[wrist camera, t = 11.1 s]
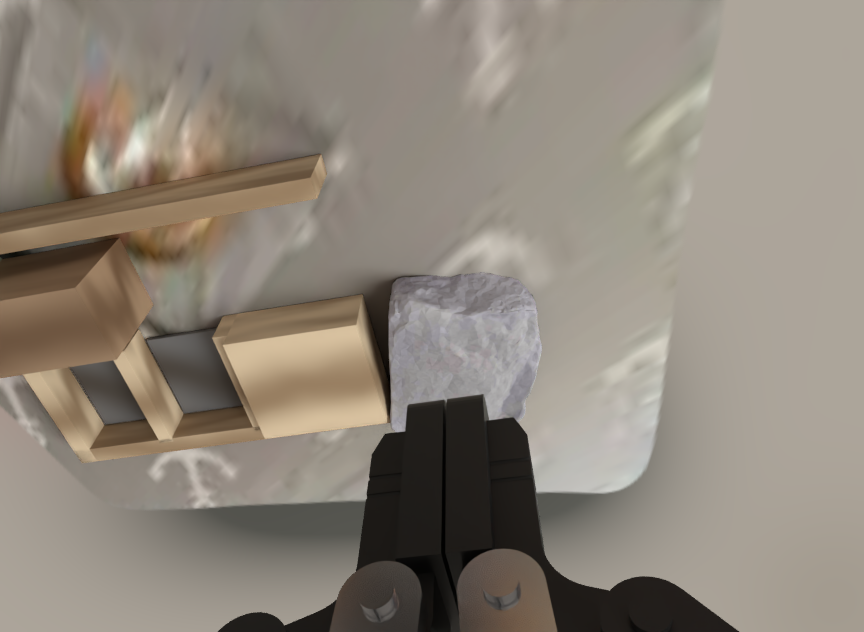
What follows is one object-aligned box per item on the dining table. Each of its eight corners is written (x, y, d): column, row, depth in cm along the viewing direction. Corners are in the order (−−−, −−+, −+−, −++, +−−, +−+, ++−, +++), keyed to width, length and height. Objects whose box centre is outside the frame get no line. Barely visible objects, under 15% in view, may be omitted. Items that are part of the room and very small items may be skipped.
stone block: (531, 256, 44) (378, 270, 43) (555, 297, 40) (387, 314, 39) (517, 392, 51) (385, 408, 50) (536, 438, 47) (393, 457, 46)
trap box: (-42, 220, 41) (-79, 247, 38) (321, 153, 38) (310, 177, 35) (96, 438, 51) (75, 473, 48) (393, 398, 48) (389, 432, 45)
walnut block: (3, 258, 43) (-56, 310, 38) (119, 237, 42) (75, 287, 37) (43, 322, 46) (-7, 379, 41) (154, 304, 44) (116, 359, 40)
